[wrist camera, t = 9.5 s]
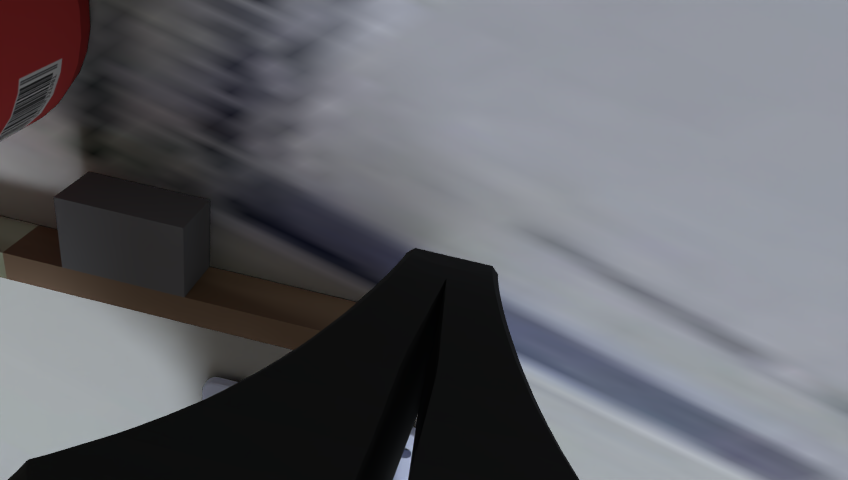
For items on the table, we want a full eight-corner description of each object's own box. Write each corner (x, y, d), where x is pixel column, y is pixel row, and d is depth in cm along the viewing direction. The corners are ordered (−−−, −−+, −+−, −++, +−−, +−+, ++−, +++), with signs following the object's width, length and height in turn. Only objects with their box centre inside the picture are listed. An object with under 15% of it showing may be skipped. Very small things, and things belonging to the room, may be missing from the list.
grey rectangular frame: (383, 333, 24) (369, 368, 22) (-224, 185, 26) (-275, 208, 24) (487, -301, 15) (477, -315, 14) (-450, -467, 17) (-554, -496, 15)
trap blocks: (209, 266, 24) (184, 297, 22) (94, 238, 24) (62, 267, 23) (212, -293, 16) (174, -305, 15) (43, -324, 16) (-13, -338, 15)
